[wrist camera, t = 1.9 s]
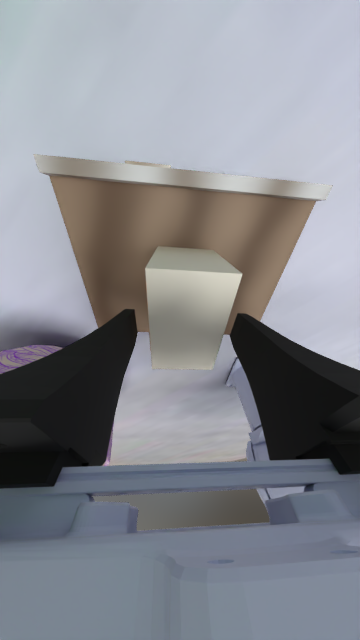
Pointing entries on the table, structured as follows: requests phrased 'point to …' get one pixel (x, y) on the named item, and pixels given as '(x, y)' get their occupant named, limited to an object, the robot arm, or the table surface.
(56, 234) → the table surface
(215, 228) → the shelf board
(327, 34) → the table surface
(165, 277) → the carton
